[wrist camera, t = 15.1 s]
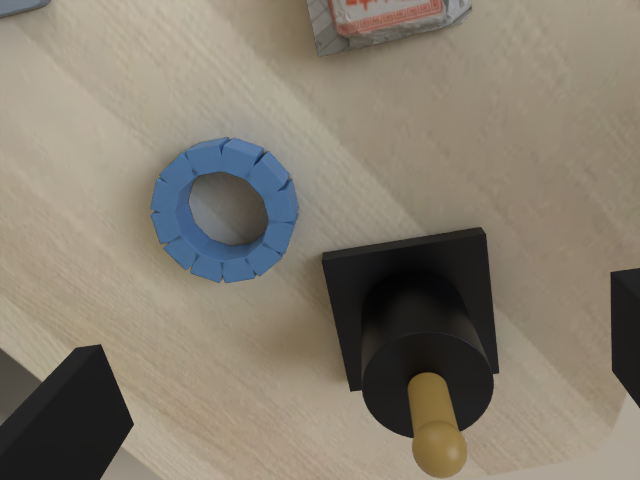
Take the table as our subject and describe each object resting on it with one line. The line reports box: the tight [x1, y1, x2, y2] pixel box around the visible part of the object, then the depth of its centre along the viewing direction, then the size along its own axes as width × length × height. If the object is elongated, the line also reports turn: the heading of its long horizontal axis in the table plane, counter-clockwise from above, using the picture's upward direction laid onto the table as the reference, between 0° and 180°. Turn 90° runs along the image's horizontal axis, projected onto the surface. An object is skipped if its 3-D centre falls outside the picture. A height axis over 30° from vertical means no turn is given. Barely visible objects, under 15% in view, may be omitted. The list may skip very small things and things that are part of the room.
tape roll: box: [151, 137, 299, 283], centre depth 37 cm, size 10×10×3 cm
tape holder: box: [322, 227, 499, 478], centre depth 33 cm, size 12×12×16 cm
